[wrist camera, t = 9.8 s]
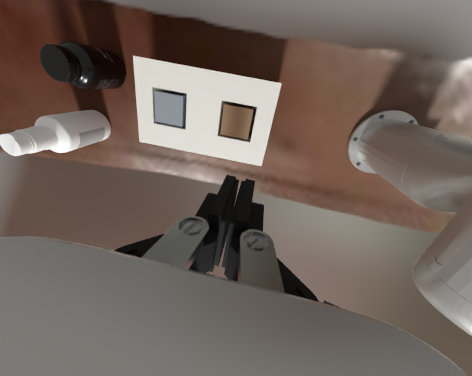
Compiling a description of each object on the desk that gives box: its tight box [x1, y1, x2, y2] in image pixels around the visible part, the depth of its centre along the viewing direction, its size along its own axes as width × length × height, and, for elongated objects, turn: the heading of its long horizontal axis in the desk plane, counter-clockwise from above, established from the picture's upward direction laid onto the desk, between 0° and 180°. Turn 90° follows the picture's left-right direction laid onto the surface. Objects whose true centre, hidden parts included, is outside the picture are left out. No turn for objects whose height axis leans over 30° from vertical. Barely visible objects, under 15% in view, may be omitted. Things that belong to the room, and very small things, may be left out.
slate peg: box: [154, 90, 187, 127], centre depth 37 cm, size 5×5×6 cm
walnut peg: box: [220, 102, 255, 140], centre depth 36 cm, size 5×5×6 cm
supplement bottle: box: [40, 41, 125, 89], centre depth 34 cm, size 7×7×12 cm
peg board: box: [133, 56, 282, 166], centre depth 37 cm, size 24×14×8 cm, turn 82°
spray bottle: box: [0, 110, 111, 156], centre depth 38 cm, size 7×7×18 cm
